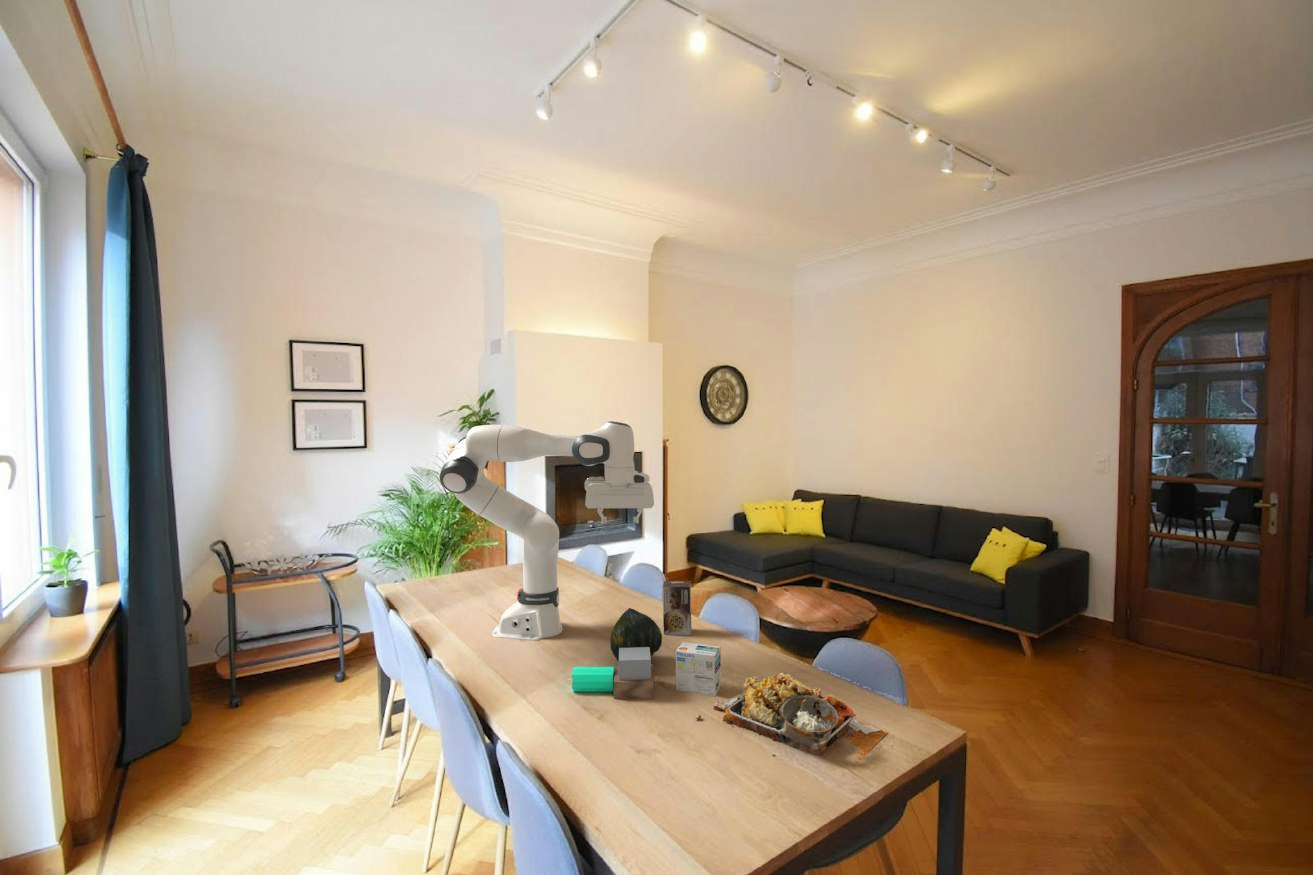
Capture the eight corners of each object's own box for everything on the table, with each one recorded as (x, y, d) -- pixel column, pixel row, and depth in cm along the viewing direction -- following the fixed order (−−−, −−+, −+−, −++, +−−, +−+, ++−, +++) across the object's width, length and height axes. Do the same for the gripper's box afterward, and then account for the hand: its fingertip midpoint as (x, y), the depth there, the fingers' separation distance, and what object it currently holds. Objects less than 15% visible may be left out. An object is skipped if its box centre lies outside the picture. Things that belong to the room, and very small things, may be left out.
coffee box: (691, 628, 194) (691, 580, 193) (690, 636, 187) (690, 586, 187) (664, 628, 195) (664, 580, 194) (662, 635, 188) (662, 585, 188)
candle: (614, 689, 152) (568, 689, 152) (614, 665, 154) (569, 665, 154) (612, 694, 146) (565, 694, 147) (612, 668, 148) (565, 668, 148)
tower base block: (613, 701, 145) (613, 682, 145) (615, 683, 155) (615, 665, 155) (653, 701, 145) (653, 681, 145) (653, 683, 155) (653, 664, 155)
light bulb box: (721, 686, 152) (721, 645, 152) (715, 697, 146) (715, 655, 146) (682, 680, 156) (682, 640, 155) (675, 691, 149) (674, 650, 149)
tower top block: (619, 680, 146) (618, 660, 145) (619, 666, 154) (619, 647, 153) (651, 679, 146) (650, 659, 146) (649, 665, 154) (649, 646, 154)
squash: (600, 665, 166) (599, 612, 165) (637, 649, 177) (636, 600, 176) (635, 680, 156) (635, 624, 156) (672, 662, 167) (672, 610, 166)
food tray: (888, 736, 129) (889, 688, 129) (835, 789, 111) (835, 734, 110) (755, 687, 153) (755, 646, 153) (693, 724, 135) (693, 678, 134)
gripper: (582, 477, 169) (583, 525, 169) (653, 477, 168) (653, 525, 169) (586, 475, 175) (586, 521, 176) (654, 475, 175) (654, 521, 175)
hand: (620, 523), depth 172 cm, fingers open, 8 cm apart
